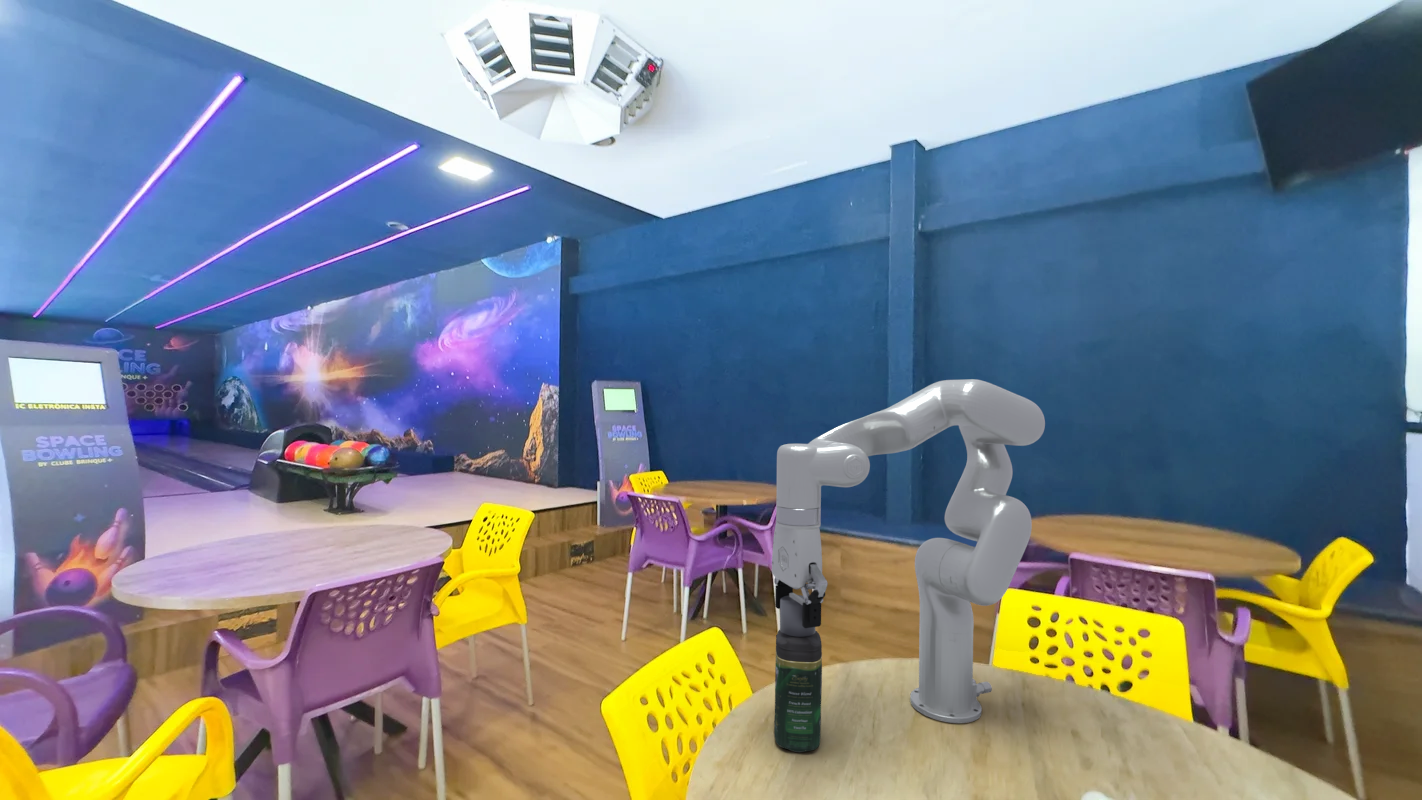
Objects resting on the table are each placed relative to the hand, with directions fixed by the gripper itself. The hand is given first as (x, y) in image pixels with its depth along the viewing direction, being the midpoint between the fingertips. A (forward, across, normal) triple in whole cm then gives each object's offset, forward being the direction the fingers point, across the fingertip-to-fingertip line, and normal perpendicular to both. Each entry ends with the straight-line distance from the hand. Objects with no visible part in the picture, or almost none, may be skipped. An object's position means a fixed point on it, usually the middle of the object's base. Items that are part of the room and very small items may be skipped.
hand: (797, 616), depth 104 cm
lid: (+2, 0, 0) cm, 2 cm away
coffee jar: (+21, 0, 0) cm, 21 cm away
